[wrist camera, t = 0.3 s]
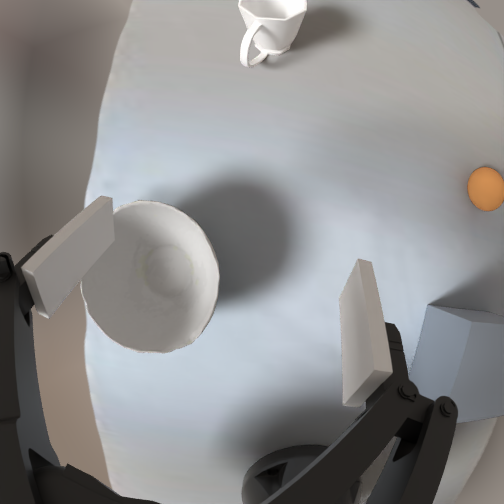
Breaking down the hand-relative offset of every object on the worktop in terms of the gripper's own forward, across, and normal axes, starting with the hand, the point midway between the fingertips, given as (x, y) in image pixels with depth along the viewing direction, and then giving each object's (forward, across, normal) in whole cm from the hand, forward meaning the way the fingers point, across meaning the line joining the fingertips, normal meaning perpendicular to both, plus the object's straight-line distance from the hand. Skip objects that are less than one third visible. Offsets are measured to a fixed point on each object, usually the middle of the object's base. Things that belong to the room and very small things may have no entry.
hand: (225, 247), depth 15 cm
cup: (+25, +3, -10) cm, 28 cm away
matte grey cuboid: (+9, -26, +13) cm, 31 cm away
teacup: (+11, +8, +12) cm, 18 cm away
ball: (+17, -25, -4) cm, 31 cm away
